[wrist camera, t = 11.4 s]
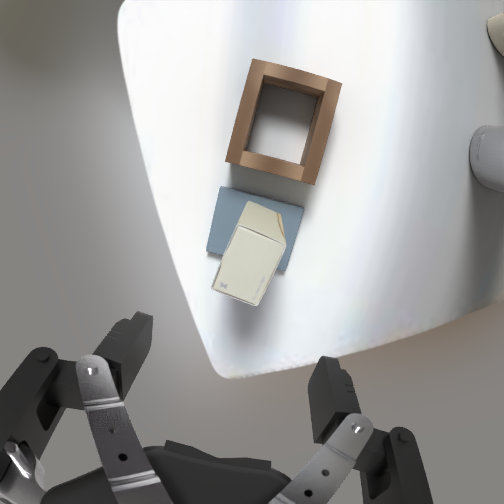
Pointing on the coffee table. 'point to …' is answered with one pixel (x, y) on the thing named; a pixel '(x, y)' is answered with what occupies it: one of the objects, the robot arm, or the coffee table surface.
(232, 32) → the coffee table surface
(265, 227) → the skincare box
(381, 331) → the coffee table surface
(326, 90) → the pocket block
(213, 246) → the pad
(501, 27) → the travel mug
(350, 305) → the coffee table surface
